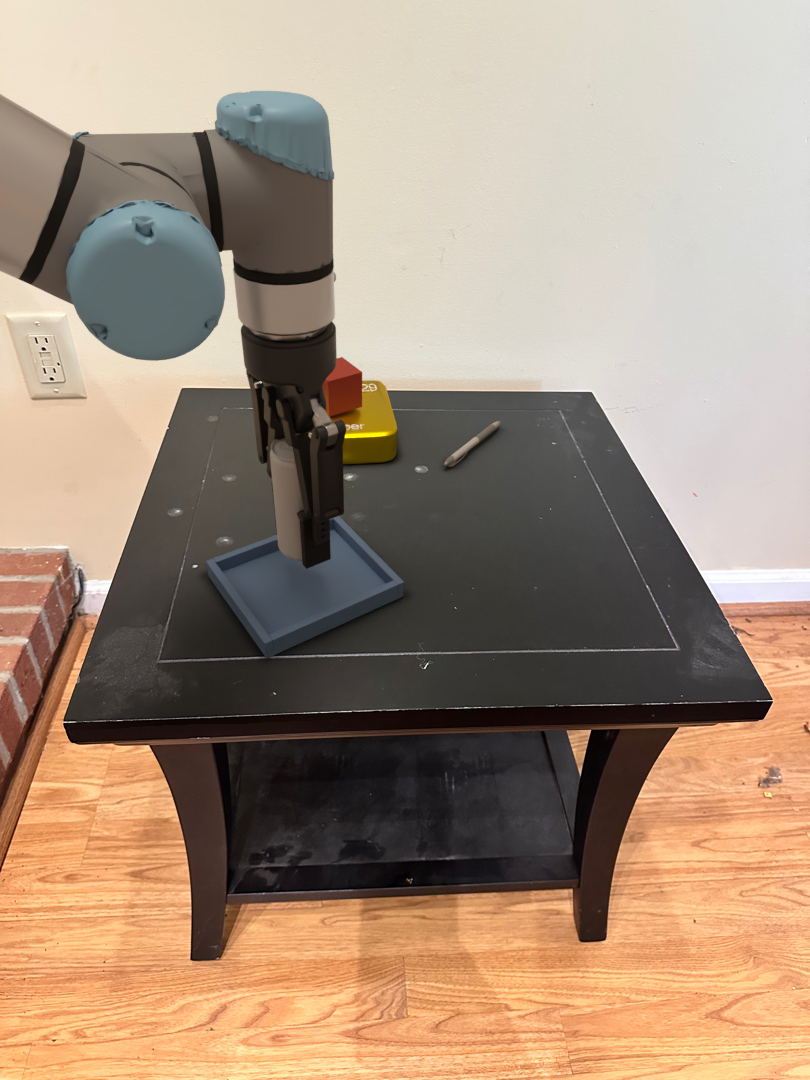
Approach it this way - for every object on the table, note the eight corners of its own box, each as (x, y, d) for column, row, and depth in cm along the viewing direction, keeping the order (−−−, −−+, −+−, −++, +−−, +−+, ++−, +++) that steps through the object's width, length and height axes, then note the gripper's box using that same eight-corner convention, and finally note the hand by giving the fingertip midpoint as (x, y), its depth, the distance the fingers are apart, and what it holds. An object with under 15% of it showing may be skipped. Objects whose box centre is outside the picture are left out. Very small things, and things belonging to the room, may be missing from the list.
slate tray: (266, 658, 68) (264, 643, 67) (208, 575, 77) (205, 560, 75) (403, 596, 75) (404, 581, 74) (336, 526, 84) (335, 512, 82)
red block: (329, 416, 93) (328, 381, 90) (310, 400, 96) (308, 365, 93) (362, 406, 96) (362, 372, 92) (342, 391, 99) (342, 356, 96)
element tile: (281, 468, 92) (279, 436, 89) (279, 409, 104) (276, 379, 101) (398, 462, 94) (400, 430, 91) (383, 405, 106) (384, 375, 103)
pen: (441, 469, 94) (441, 460, 93) (496, 426, 103) (497, 417, 102) (447, 472, 93) (448, 462, 92) (502, 428, 102) (503, 419, 101)
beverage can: (324, 565, 71) (320, 461, 63) (275, 563, 71) (265, 459, 63) (329, 533, 75) (326, 432, 67) (281, 531, 74) (273, 430, 67)
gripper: (390, 354, 54) (384, 584, 69) (278, 277, 65) (294, 490, 80) (300, 378, 50) (314, 615, 65) (198, 293, 61) (230, 512, 76)
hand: (303, 546), depth 72 cm, fingers closed on beverage can, 5 cm apart
